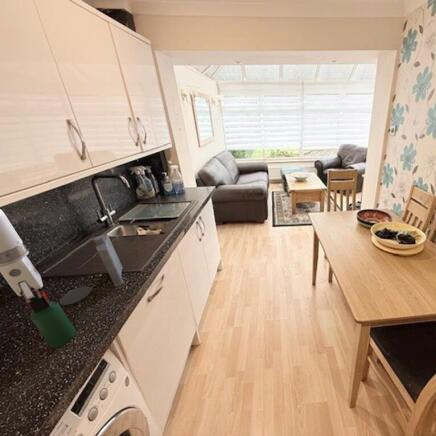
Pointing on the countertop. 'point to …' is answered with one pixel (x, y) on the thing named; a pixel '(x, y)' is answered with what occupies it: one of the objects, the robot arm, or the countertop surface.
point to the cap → (41, 295)
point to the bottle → (54, 325)
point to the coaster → (75, 296)
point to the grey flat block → (109, 258)
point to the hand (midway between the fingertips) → (41, 305)
